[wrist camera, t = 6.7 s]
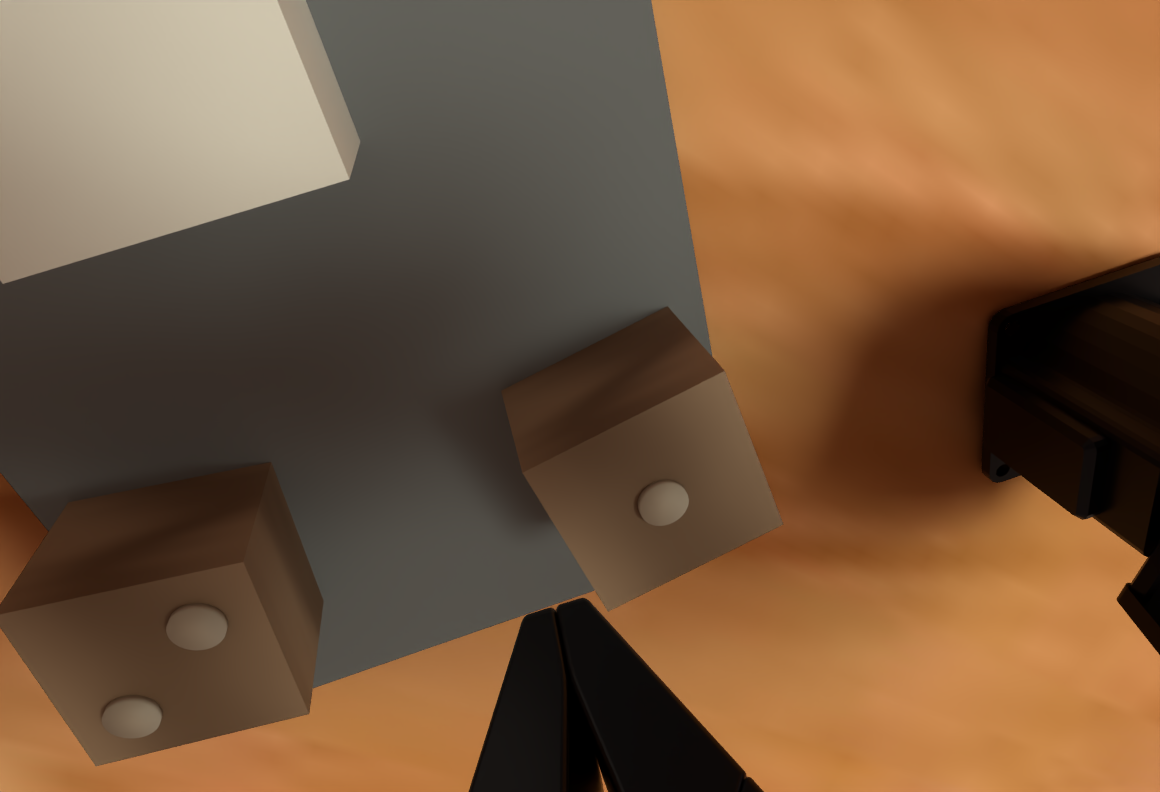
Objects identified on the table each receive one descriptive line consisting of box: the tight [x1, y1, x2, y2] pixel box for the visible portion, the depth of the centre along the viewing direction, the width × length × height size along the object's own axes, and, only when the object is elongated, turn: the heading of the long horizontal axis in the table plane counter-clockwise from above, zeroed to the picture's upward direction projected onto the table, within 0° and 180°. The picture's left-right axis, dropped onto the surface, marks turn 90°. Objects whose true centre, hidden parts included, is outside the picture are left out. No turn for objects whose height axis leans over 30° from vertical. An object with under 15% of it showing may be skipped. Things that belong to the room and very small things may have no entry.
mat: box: [0, 0, 712, 688], centre depth 17 cm, size 18×26×1 cm
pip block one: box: [501, 306, 783, 611], centre depth 19 cm, size 5×5×4 cm
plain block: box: [0, 0, 360, 284], centre depth 13 cm, size 6×6×4 cm
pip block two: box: [0, 462, 324, 766], centre depth 18 cm, size 5×5×4 cm
